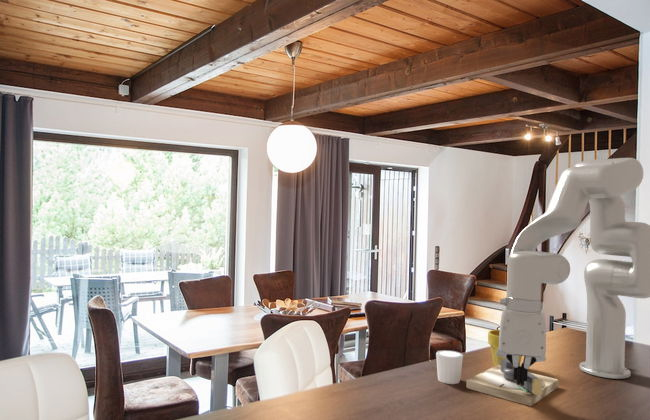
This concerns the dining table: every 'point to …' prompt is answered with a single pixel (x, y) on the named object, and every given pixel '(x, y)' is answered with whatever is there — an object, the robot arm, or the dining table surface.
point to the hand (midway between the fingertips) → (519, 383)
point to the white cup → (449, 366)
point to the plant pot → (496, 347)
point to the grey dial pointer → (531, 384)
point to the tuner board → (509, 386)
